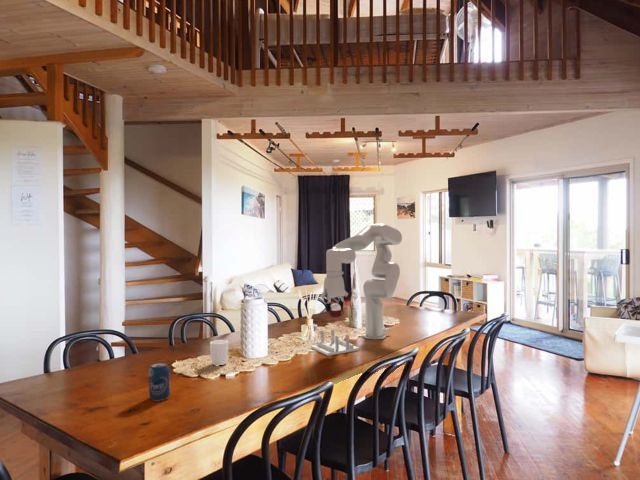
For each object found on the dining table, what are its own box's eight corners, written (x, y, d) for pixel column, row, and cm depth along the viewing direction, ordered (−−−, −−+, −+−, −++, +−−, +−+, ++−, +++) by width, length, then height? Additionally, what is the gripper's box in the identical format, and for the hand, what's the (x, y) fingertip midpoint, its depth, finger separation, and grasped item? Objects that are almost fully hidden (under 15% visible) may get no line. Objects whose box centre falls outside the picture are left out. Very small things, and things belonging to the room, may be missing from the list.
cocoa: (345, 317, 215) (346, 293, 215) (336, 319, 211) (337, 294, 210) (331, 314, 222) (332, 290, 222) (322, 315, 218) (323, 291, 217)
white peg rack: (341, 342, 228) (341, 327, 228) (359, 350, 214) (359, 333, 214) (311, 348, 219) (311, 331, 219) (327, 355, 205) (327, 338, 205)
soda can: (149, 403, 152) (149, 368, 152) (149, 396, 158) (148, 363, 158) (170, 399, 155) (170, 365, 155) (169, 393, 161) (168, 360, 161)
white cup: (207, 364, 195) (206, 342, 195) (222, 360, 201) (221, 338, 200) (217, 368, 189) (216, 345, 189) (232, 363, 195) (231, 341, 195)
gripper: (344, 272, 223) (345, 307, 224) (315, 274, 215) (315, 311, 215) (353, 273, 217) (353, 309, 217) (322, 276, 208) (323, 313, 209)
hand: (334, 310), depth 216 cm, fingers closed on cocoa, 6 cm apart
